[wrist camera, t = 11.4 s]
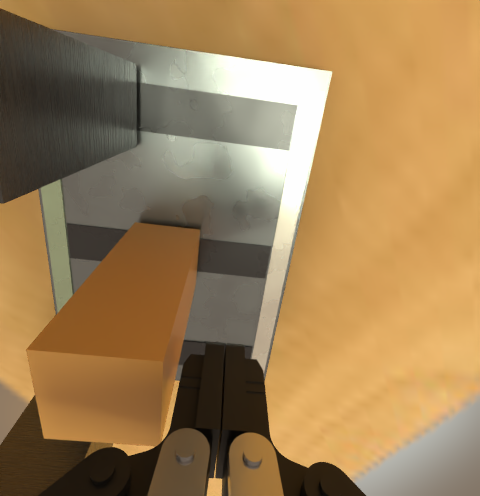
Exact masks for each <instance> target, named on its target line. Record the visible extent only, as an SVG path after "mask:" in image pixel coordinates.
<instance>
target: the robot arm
mask: <svg viewBox="0 0 480 496" xmlns="http://www.w3.org/2000/svg"><path fill="white" fill-rule="evenodd" d="M224 345H225V343H222V342H211V341H206V346H205V354H204V355H197V354H190V356H189V357H188V358H187V360H186V361H185V362H184V364H183V368H182V372H181V378H180V382H179V388H178V392H177V397H176V402H175V407H174V412H173V417H172V421H171V426H170V430H169V432H168V434H167V436H166V437H165V439H164V440H163V441H162V442H161V443H160V444H159V445H157V446H156V447H154V448H153V449H151V450H148V451H145V452H142V453H138V454H135V455H131V456H128V455H127V454H126V453H125V452H124V451H123V450H121V449H118V448H114V447H107V448H102V449H99V450H97V451H95V452H93V453H92V454H90V455H89V456H87V457H86V458H85V459H84V460H82V461H81V462H80V463H78V464H77V465H76V466H75V467H73V468H72V469H71V470H70V471H68V472H67V473H66V474H65V475H63V476H62V477H61V478H59V479H58V480H57V481H56V482H54V483H53V484H52V485H51V486H49V487H48V488H47V489H46V490H44V491H43V492H42V493H40V494H39V495H38V496H207V489H208V481H209V478H214V471H215V464H216V478H221V479H222V496H366V495H365V494H364V493H363V492H362V491H361V490H360V489H359V488H358V487H357V486H356V485H355V484H354V483H353V482H352V480H351V479H350V478H349V477H348V476H347V475H346V474H345V473H344V472H343V471H342V470H341V469H339V468H338V467H336V466H334V465H332V464H330V463H326V462H318V463H315V464H313V465H311V466H310V467H309V468H307V467H304V466H302V465H300V464H297V463H295V462H293V461H290V460H288V459H287V458H285V457H284V456H283V455H281V454H280V453H279V452H278V450H277V449H276V448H275V446H274V445H273V443H272V441H271V438H270V432H269V422H268V412H267V402H266V395H265V393H266V392H265V385H264V373H263V369H262V367H261V366H260V364H259V362H258V361H257V359H246V358H245V346H244V344H235V343H226V345H225V352H224ZM216 457H217V460H216Z"/></svg>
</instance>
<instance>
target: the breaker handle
mask: <svg viewBox="0 0 480 496" xmlns="http://www.w3.org/2000/svg"><path fill="white" fill-rule="evenodd" d="M199 239H200V230H198V229H190V228H181V227H172V226H163V225H155V224H146V223H137V222H135V223H134V224H133V225H132V226H131V228H130V229H129V230H128V231H127V232H126V233H125V235H124V236H123V237H122V238H121V239H120V241H119V242H118V243H117V244H116V245H115V246H114V248H113V249H112V250H111V251H110V252H109V253H108V255H107V256H106V257H105V258H104V259H103V260H102V262H101V263H100V264H99V265H98V266H97V267H96V269H95V270H94V271H93V272H92V273H91V274H90V276H89V277H88V278H87V279H86V280H85V282H84V283H83V284H82V285H81V286H80V287H79V289H78V290H77V291H76V292H75V293H74V294H73V296H72V297H71V298H70V299H69V300H68V301H67V303H66V304H65V305H64V306H63V307H62V308H61V310H60V311H59V312H58V313H57V314H56V316H55V317H54V318H53V319H52V320H51V321H50V323H49V324H48V325H47V326H46V327H45V328H44V330H43V331H42V332H41V333H40V334H39V335H38V337H37V338H36V339H35V340H34V341H33V342H32V344H31V345H30V346H29V347H28V348H27V350H26V351H27V356H28V361H29V366H30V371H31V377H32V382H33V387H34V392H35V397H36V402H37V407H38V412H39V417H40V422H41V427H42V432H43V437H44V439H57V440H72V441H86V442H101V443H115V444H130V445H144V446H157V445H159V444H160V443H161V441H162V436H163V431H164V427H165V422H166V418H167V413H168V409H169V404H170V400H171V395H172V391H173V386H174V381H175V377H176V372H177V368H178V363H179V359H180V354H181V350H182V345H183V341H184V336H185V332H186V327H187V322H188V318H189V313H190V309H191V304H192V300H193V295H194V291H195V286H196V276H197V264H198V252H199Z"/></svg>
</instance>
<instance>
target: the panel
mask: <svg viewBox="0 0 480 496" xmlns="http://www.w3.org/2000/svg"><path fill="white" fill-rule="evenodd" d="M331 75H332V72H331V71H324V70H317V69H311V68H304V67H298V66H291V65H284V64H278V63H271V62H265V61H258V60H251V59H245V58H238V57H231V56H225V55H218V54H212V53H205V52H198V51H192V50H185V49H178V48H172V47H165V46H159V45H152V44H145V43H139V42H132V41H126V40H119V39H112V38H106V37H99V36H92V35H86V34H79V33H73V32H66V31H59V30H53V29H49V28H47V27H44V26H42V25H39V24H37V23H35V22H32V21H30V20H27V19H25V18H22V17H20V16H17V15H15V14H13V13H10V12H8V11H5V10H3V9H0V203H6V202H8V201H11V200H13V199H15V198H18V197H20V196H22V195H25V194H27V193H29V192H32V191H34V190H36V189H39V197H40V204H41V211H42V218H43V225H44V232H45V240H46V247H47V254H48V261H49V268H50V275H51V283H52V290H53V297H54V304H55V311H56V314H57V313H58V312H59V311H60V310H61V308H62V307H63V306H64V305H65V304H66V303H67V301H68V300H69V299H70V298H71V297H72V296H73V294H74V293H75V292H76V291H77V290H78V289H79V287H80V286H81V285H82V284H83V283H84V282H85V280H86V279H87V278H88V277H89V276H90V274H91V273H92V272H93V271H94V270H95V269H96V267H97V266H98V265H99V264H100V263H101V262H102V260H103V259H104V258H105V257H106V256H107V255H108V253H109V252H110V251H111V250H112V249H113V248H114V246H115V245H116V244H117V243H118V242H119V241H120V239H121V238H122V237H123V236H124V235H125V233H126V232H127V231H128V230H129V229H130V228H131V226H132V225H133V224H134V223H135V222H137V223H146V224H155V225H163V226H172V227H181V228H190V229H198V230H200V239H199V252H198V264H197V276H196V286H195V291H194V295H193V300H192V304H191V309H190V313H189V318H188V322H187V327H186V332H185V336H184V341H183V345H182V350H181V354H180V359H179V363H178V368H177V372H176V377H175V380H178V381H180V378H181V372H182V368H183V364H184V362H185V361H186V360H187V358H188V357H189V356H190V354H197V355H204V354H205V346H206V341H211V342H222V343H225V345H226V343H235V344H244V346H245V358H246V359H257V361H258V362H259V364H260V366H261V367H262V369H263V373H264V381H265V376H266V372H267V367H268V363H269V358H270V354H271V349H272V345H273V340H274V335H275V331H276V326H277V322H278V317H279V313H280V308H281V303H282V299H283V294H284V290H285V285H286V281H287V276H288V272H289V267H290V262H291V258H292V253H293V249H294V244H295V240H296V235H297V230H298V226H299V221H300V217H301V212H302V208H303V203H304V198H305V194H306V189H307V185H308V180H309V176H310V171H311V167H312V162H313V157H314V153H315V148H316V144H317V139H318V135H319V130H320V125H321V121H322V116H323V112H324V107H325V103H326V98H327V94H328V89H329V84H330V80H331ZM225 345H224V352H225ZM112 446H113V443H101V442H86V441H72V440H57V439H44V437H43V432H42V427H41V422H40V417H39V412H38V407H37V402H36V397H35V396H34V397H33V399H32V400H31V401H30V403H29V404H28V406H27V407H26V409H25V410H24V412H23V413H22V414H21V416H20V418H19V419H18V420H17V422H16V423H15V425H14V426H13V428H12V429H11V431H10V432H9V433H8V435H7V437H6V438H5V439H4V441H3V442H2V444H1V445H0V496H38V495H39V494H40V493H42V492H43V491H44V490H46V489H47V488H48V487H49V486H51V485H52V484H53V483H54V482H56V481H57V480H58V479H59V478H61V477H62V476H63V475H65V474H66V473H67V472H68V471H70V470H71V469H72V468H73V467H75V466H76V465H77V464H78V463H80V462H81V461H82V460H84V459H85V458H86V457H87V456H89V455H90V454H92V453H93V452H95V451H97V450H99V449H102V448H107V447H112Z"/></svg>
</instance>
